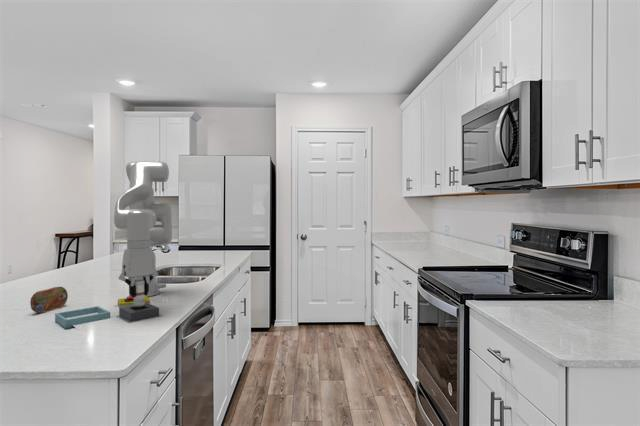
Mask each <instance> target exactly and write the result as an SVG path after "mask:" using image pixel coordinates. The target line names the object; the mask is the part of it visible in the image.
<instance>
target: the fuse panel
mask: <svg viewBox="0 0 640 426" xmlns="http://www.w3.org/2000/svg"><path fill="white" fill-rule="evenodd" d="M118 309H119V311H118V312H119V313H118V315H115V317H116V318H118V319H121V320H122V321H124V322H126V323H128V324H132V323H135V322H140V321H146V320H150V319H155V318H159V317H160V318H161V317H163V315H162V314H160V307H158V306H156V305H153V304H152V303H150V304H148V303H145V305H144V306H141V307H134V306H133V305H132V306H126V307H121V308H119V307H118Z"/></svg>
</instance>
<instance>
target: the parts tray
mask: <svg viewBox="0 0 640 426" xmlns="http://www.w3.org/2000/svg"><path fill="white" fill-rule="evenodd" d="M89 314H90V315H89ZM79 316H80V317H79ZM73 317H74V318H73ZM107 319H111V312H110V311H109V310H107V309H105V308H103V307H101V306H98V305H97V306H91V307H85V308H78V309H74V310H68V311H61V312H56V313H54V322H55V323H56V324H57V323H58V324H57V325H58V326H61V327H62V328H63V329H64V330H70V329H73V328H74V329H75V328H76V325H80V324H86V323H90V322H91V323H92V322H95V321H100V320H101V321H103V320H107ZM74 325H75V326H74Z"/></svg>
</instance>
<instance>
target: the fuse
mask: <svg viewBox="0 0 640 426" xmlns="http://www.w3.org/2000/svg"><path fill="white" fill-rule="evenodd" d="M144 284H145V280H135V282H134V286H136V297H134V302H133V306H134V307H141V306H144V305H145V291H144Z"/></svg>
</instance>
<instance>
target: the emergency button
mask: <svg viewBox="0 0 640 426" xmlns="http://www.w3.org/2000/svg"><path fill="white" fill-rule="evenodd" d="M133 302H134V297H132V296H129V295H128V296H127V297H124V298H118V299H117V304H116V305H113V308H115V307H118V309H119V308H121V307H126V306H132V305H133ZM145 303H148V304H151V301H150V298H149V296H145Z"/></svg>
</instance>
